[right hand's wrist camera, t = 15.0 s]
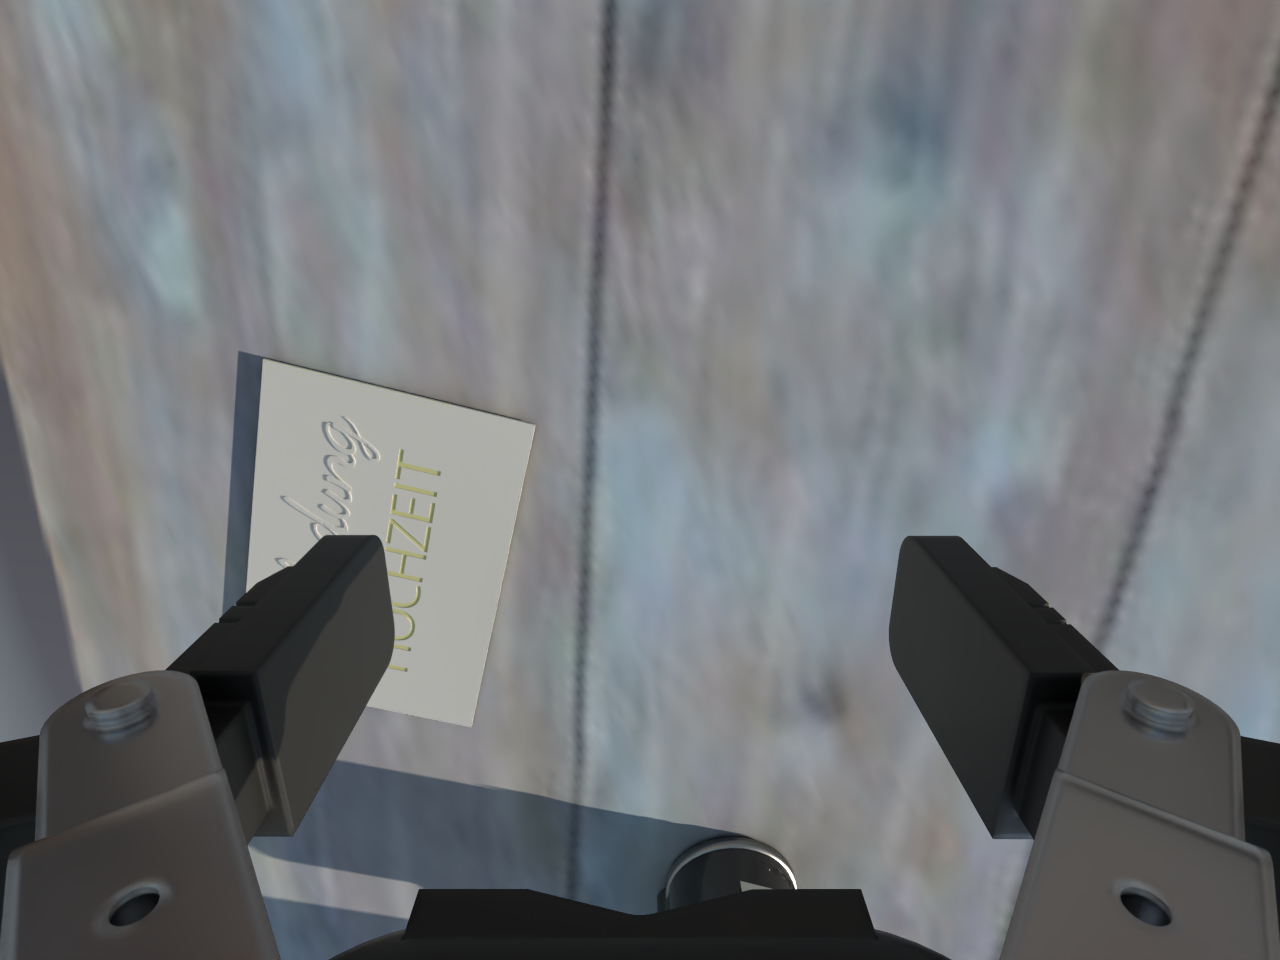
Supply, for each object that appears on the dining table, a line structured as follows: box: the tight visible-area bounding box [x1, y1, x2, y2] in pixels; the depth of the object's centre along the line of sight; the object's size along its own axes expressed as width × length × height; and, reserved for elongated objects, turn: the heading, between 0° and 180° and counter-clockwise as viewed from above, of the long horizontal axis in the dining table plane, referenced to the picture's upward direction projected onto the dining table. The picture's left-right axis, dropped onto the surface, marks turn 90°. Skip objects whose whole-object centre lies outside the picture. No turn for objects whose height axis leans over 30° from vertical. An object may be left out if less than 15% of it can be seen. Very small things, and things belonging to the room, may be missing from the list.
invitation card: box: [246, 358, 536, 727], centre depth 43 cm, size 21×1×15 cm
